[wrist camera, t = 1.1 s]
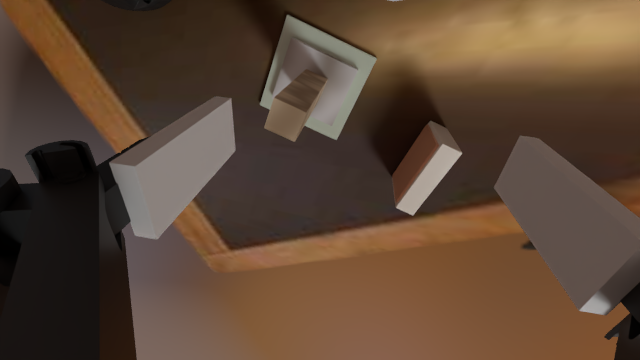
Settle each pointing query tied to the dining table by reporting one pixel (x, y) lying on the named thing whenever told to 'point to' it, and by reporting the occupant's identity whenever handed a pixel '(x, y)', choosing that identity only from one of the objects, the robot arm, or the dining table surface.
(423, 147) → the tile
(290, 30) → the mat
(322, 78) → the wooden handled stamp
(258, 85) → the dining table surface
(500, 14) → the dining table surface
